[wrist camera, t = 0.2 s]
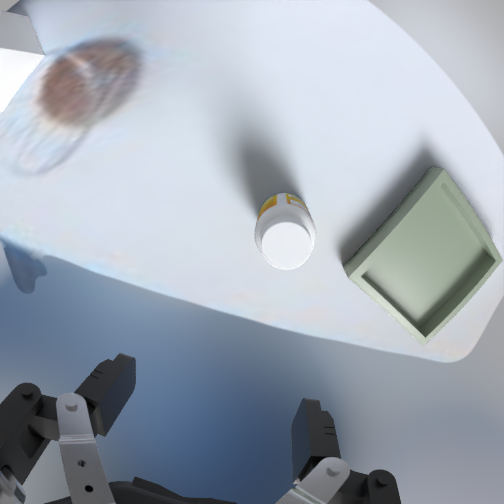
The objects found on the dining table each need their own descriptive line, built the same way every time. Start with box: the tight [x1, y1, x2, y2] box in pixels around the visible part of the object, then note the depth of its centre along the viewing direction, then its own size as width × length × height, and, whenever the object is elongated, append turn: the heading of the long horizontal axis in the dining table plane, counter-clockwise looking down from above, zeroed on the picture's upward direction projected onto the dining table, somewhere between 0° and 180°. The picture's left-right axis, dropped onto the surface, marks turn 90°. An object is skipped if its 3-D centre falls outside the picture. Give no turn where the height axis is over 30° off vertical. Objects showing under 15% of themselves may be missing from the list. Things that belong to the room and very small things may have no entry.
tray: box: [343, 166, 503, 346], centre depth 31 cm, size 16×16×3 cm
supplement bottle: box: [255, 193, 316, 269], centre depth 27 cm, size 5×5×10 cm
